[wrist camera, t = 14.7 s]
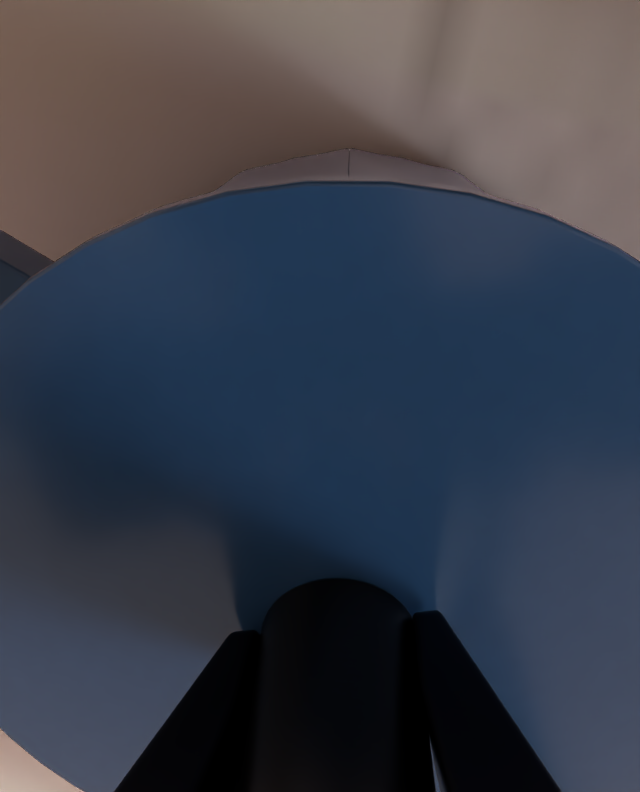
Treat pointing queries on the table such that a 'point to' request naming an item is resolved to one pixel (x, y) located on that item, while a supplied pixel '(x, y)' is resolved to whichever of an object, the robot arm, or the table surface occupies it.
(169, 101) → the table surface
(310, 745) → the lid
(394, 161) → the pot
